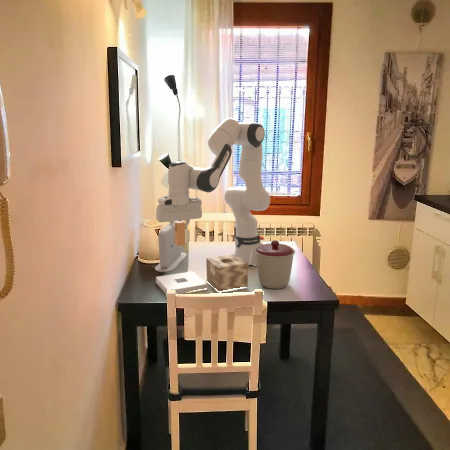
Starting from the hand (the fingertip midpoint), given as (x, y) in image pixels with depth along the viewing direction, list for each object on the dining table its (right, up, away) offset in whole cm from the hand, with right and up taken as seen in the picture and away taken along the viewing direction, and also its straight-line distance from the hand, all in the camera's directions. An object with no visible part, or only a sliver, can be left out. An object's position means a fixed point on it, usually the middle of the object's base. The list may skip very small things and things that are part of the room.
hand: (179, 230), depth 202 cm
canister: (+42, -25, +8) cm, 50 cm away
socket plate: (0, -26, +7) cm, 27 cm away
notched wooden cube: (+21, -25, +7) cm, 34 cm away
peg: (0, -6, +1) cm, 7 cm away
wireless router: (-8, -17, +40) cm, 45 cm away
